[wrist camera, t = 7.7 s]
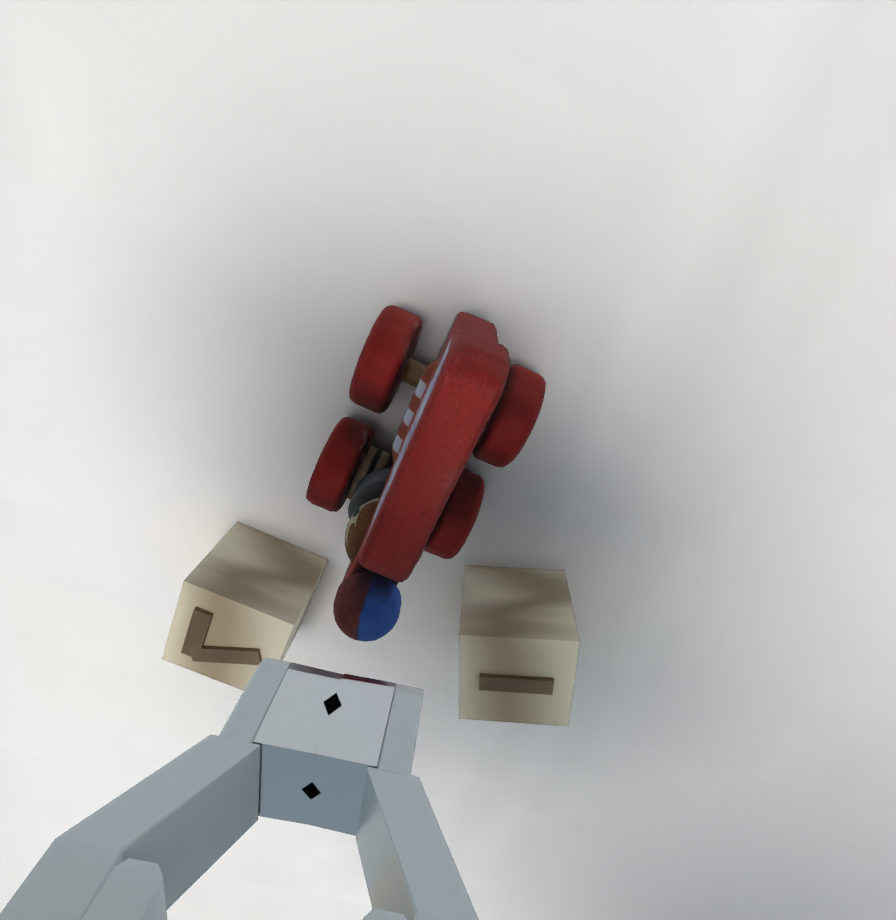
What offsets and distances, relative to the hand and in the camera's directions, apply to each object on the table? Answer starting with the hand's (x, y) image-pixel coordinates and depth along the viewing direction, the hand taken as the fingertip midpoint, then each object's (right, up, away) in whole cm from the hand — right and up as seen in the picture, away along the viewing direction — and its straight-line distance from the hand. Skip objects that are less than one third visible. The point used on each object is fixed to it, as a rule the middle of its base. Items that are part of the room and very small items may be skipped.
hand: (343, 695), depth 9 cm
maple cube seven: (-8, -2, +18) cm, 19 cm away
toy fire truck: (+1, +6, +14) cm, 15 cm away
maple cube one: (+5, -3, +17) cm, 18 cm away
